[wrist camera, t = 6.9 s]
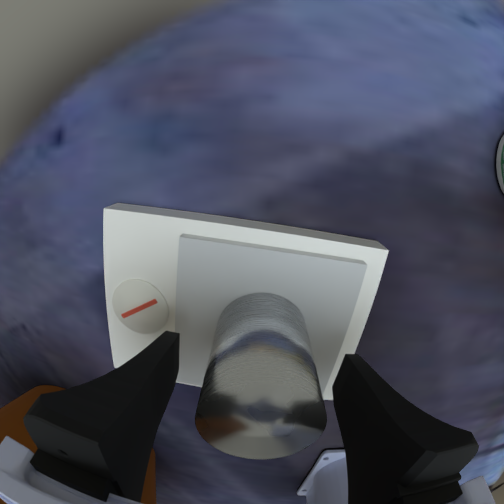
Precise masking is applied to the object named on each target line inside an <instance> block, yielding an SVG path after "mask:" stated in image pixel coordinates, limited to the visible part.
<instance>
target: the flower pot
mask: <svg viewBox="0 0 504 504" xmlns="http://www.w3.org/2000/svg"><path fill="white" fill-rule="evenodd" d="M61 390H65V388H61V387H57V386H52V385H40V386H36V387H34V388H33V389H31V390H29V391H28V392H26V393H25V394H23V395H21V396H20V397H18V398H17V399H15V400H13V401H12V402H10V403H8V404H7V405H5V406H4V407H2V408H0V444H1V443H2V441H3V440H4V438H5V437H6V436H9V437H10V438H12V439H13V440H15V441H17V442H18V443H20V444H22V445H23V446H25V447H27V448H28V449H30V450H31V451H32V452H33V453H34V454H35V452H36V450H37V449H38V448H37V446H36V444H35V443H34V441H33V440H32V438H31V436H30V435H29V433H28V431H27V430H26V427H25V425H24V421H23V418H24V416H25V415H26V413H27V412H28V410H29V409H30V407H31V406H32V405H33V403H34V402H35V400H36V399H37V398H38V397H39V396H40V395H41V394H45V393H50V392H56V391H61ZM141 503H143V504H156V479H155V452H154V449H153V447H152V450H151V454H150V459H149V463H148V467H147V472H146V476H145V481H144V486H143V492H142V497H141ZM0 504H7V503H6V502H4V501H3V500H2V499H1V498H0Z"/></svg>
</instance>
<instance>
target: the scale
mask: <svg viewBox="0 0 504 504" xmlns="http://www.w3.org/2000/svg"><path fill="white" fill-rule="evenodd" d="M103 248H104V276H105V293H106V305H107V316H108V326H109V334H110V342H111V350H112V356H113V363H114V367H115V368H118V367H120V366H121V365H123V364H124V363H126V362H127V361H129V360H130V359H131V358H133V357H134V356H136V355H137V354H138V353H140V352H141V351H142V350H143V349H145V348H146V347H147V346H148V345H150V344H151V343H152V342H153V341H154V340H155V339H157V338H158V337H159V336H160V335H161V334H162V333H163V332H165V331H171V332H176V333H180V348H179V372H178V375H177V379H176V382H177V383H182V384H187V385H193V386H198V387H202V385H203V381H204V376H205V372H206V368H207V364H208V360H209V355H210V351H211V347H212V343H213V339H214V335H215V331H216V327H217V322H218V319H219V316H220V315H221V313H222V311H223V310H224V309H225V307H226V306H227V305H228V304H229V303H231V302H232V301H234V300H235V299H237V298H239V297H241V296H244V295H247V294H251V293H260V292H264V293H272V294H276V295H280V296H282V297H284V298H286V299H288V300H290V301H291V302H292V303H294V304H295V305H296V306H297V307H298V308H299V310H300V311H301V313H302V314H303V317H304V319H305V323H306V327H307V331H308V335H309V339H310V343H311V348H312V352H313V356H314V361H315V365H316V369H317V374H318V378H319V383H320V387H321V392H322V396H323V400H333V392H332V386H333V383H334V381H335V378H336V376H337V374H338V371H339V369H340V366H341V364H342V361H343V359H344V356H345V354H354V353H355V351H356V348H357V346H358V343H359V340H360V338H361V335H362V332H363V330H364V327H365V324H366V321H367V319H368V316H369V313H370V310H371V307H372V304H373V301H374V298H375V295H376V292H377V289H378V285H379V282H380V279H381V276H382V272H383V269H384V265H385V262H386V258H387V255H388V251H389V250H387V249H386V248H385V247H384V246H383V245H381V244H380V243H379V242H378V241H374V240H368V239H363V238H357V237H352V236H346V235H340V234H334V233H328V232H322V231H316V230H310V229H304V228H298V227H292V226H286V225H279V224H273V223H266V222H260V221H253V220H246V219H239V218H233V217H226V216H218V215H211V214H204V213H197V212H189V211H181V210H174V209H166V208H158V207H150V206H141V205H133V204H124V203H116V204H113V205H111V206H108V207H106V208H104V217H103Z"/></svg>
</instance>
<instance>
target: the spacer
mask: <svg viewBox="0 0 504 504" xmlns="http://www.w3.org/2000/svg"><path fill="white" fill-rule="evenodd" d="M326 423H327V415H326V410H325V406H324V401H323V396H322V392H321V387H320V383H319V378H318V374H317V369H316V365H315V361H314V356H313V352H312V348H311V343H310V339H309V335H308V331H307V327H306V323H305V319H304V317H303V314H302V313H301V311H300V310H299V308H298V307H297V306H296V305H295V304H294V303H292V302H291V301H290V300H288V299H286V298H284V297H282V296H280V295H276V294H272V293H264V292H260V293H251V294H247V295H244V296H241V297H239V298H237V299H235V300H234V301H232V302H231V303H229V304H228V305H227V306H226V307H225V309H224V310H223V311H222V313H221V315H220V316H219V319H218V322H217V327H216V331H215V335H214V339H213V343H212V347H211V351H210V355H209V360H208V364H207V368H206V372H205V376H204V381H203V385H202V389H201V393H200V398H199V402H198V406H197V410H196V415H195V424H196V427H197V430H198V432H199V434H200V435H201V436H202V438H203V439H204V440H205V441H206V442H208V443H209V444H210V445H212V446H213V447H215V448H216V449H218V450H220V451H222V452H225V453H227V454H230V455H234V456H237V457H242V458H249V459H273V458H279V457H284V456H288V455H291V454H294V453H297V452H299V451H301V450H303V449H305V448H307V447H308V446H310V445H311V444H313V443H314V442H315V441H316V440H317V439H318V438H319V437H320V436H321V434H322V433H323V431H324V429H325V427H326Z"/></svg>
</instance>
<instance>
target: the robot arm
mask: <svg viewBox="0 0 504 504" xmlns="http://www.w3.org/2000/svg"><path fill="white" fill-rule="evenodd" d="M179 348H180V333H176V332H171V331H165V332H163V333H162V334H161V335H160V336H159V337H158V338H157V339H155V340H154V341H153V342H152V343H151V344H150V345H148V346H147V347H146V348H145V349H143V350H142V351H141V352H140V353H138V354H137V355H136V356H134V357H133V358H131V359H130V360H129V361H127V362H126V363H124V364H123V365H121V366H120V367H118V368H116V369H115V370H113V371H111V372H109V373H107V374H106V375H103V376H101V377H99V378H97V379H94V380H92V381H90V382H87V383H85V384H82V385H79V386H76V387H72V388H69V389H65V390H61V391H56V392H50V393H45V394H41V395H40V396H39V397H38V398H37V399H36V400H35V402H34V403H33V405H32V406H31V407H30V409H29V410H28V412H27V413H26V415H25V416H24V418H23V421H24V425H25V427H26V430H27V431H28V433H29V435H30V436H31V438H32V440H33V441H34V443H35V444H36V446H37V448H38V449H37V450H36V452H35V454H34V453H33V452H32V451H31V450H30V449H28V448H27V447H25V446H23V445H22V444H20V443H18V442H17V441H15V440H13V439H12V438H10V437H9V436H6V437H5V438H4V440H3V441H2V443H1V444H0V498H1V499H2V500H3V501H4V502H6V503H7V504H143V503H141V497H142V492H143V486H144V481H145V476H146V472H147V467H148V463H149V459H150V454H151V450H152V446H153V443H154V439H155V435H156V432H157V429H158V426H159V424H160V421H161V419H162V416H163V414H164V412H165V409H166V407H167V404H168V402H169V399H170V397H171V394H172V392H173V390H174V387H175V383H176V379H177V375H178V372H179ZM332 392H333V401H334V408H335V412H336V416H337V420H338V424H339V427H340V431H341V435H342V439H343V443H344V448H345V449H343V450H326V451H324V452H323V453H322V454H321V456H320V457H319V459H318V460H317V462H316V464H315V465H314V467H313V468H312V470H311V471H310V473H309V475H308V476H307V478H306V479H305V481H304V482H303V484H302V485H301V486H300V488H299V489H298V491H297V495H306V501H307V504H496V503H495V501H494V499H493V497H492V494H491V492H490V490H489V488H488V486H487V484H486V481H485V479H484V477H483V476H480V477H477V478H475V479H472V480H470V481H467V482H465V483H464V484H462V485H459V483H458V481H459V480H460V479H461V475H460V473H459V472H460V471H461V470H462V469H463V468H464V467H465V466H466V465H467V464H468V463H469V462H470V461H471V459H472V458H473V457H474V456H475V455H476V453H477V451H478V448H479V445H478V443H477V442H476V440H475V438H474V436H473V434H472V433H471V432H469V431H466V430H463V429H460V428H457V427H454V426H452V425H449V424H447V423H445V422H442V421H440V420H438V419H436V418H434V417H432V416H431V415H429V414H427V413H425V412H424V411H422V410H421V409H419V408H417V407H416V406H415V405H413V404H412V403H410V402H409V401H408V400H406V399H405V398H404V397H402V396H401V395H400V394H399V393H398V392H396V391H395V390H394V389H393V388H392V387H391V386H390V385H389V384H388V383H386V382H385V381H384V380H383V379H382V378H381V377H380V376H379V375H378V374H377V373H376V372H375V371H374V370H373V369H372V368H371V367H370V366H369V365H368V364H367V363H366V362H365V361H364V360H363V359H362V358H361V357H360V356H359V355H358V354H345V356H344V359H343V361H342V364H341V366H340V369H339V371H338V374H337V376H336V378H335V381H334V383H333V386H332Z"/></svg>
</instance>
